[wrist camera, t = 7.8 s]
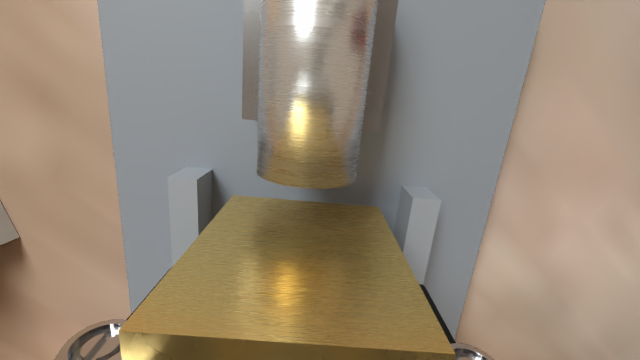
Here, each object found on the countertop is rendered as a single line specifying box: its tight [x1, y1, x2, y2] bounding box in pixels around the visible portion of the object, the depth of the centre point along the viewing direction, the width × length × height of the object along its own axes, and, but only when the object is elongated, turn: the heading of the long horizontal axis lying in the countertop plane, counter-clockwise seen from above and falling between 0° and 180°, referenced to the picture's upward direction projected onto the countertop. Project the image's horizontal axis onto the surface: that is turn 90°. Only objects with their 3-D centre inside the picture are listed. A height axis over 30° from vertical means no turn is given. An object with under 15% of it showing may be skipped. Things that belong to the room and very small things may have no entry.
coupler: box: [118, 195, 455, 360], centre depth 8 cm, size 5×5×7 cm
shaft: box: [242, 0, 398, 189], centre depth 9 cm, size 6×4×6 cm
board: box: [97, 0, 546, 340], centre depth 13 cm, size 21×15×3 cm
